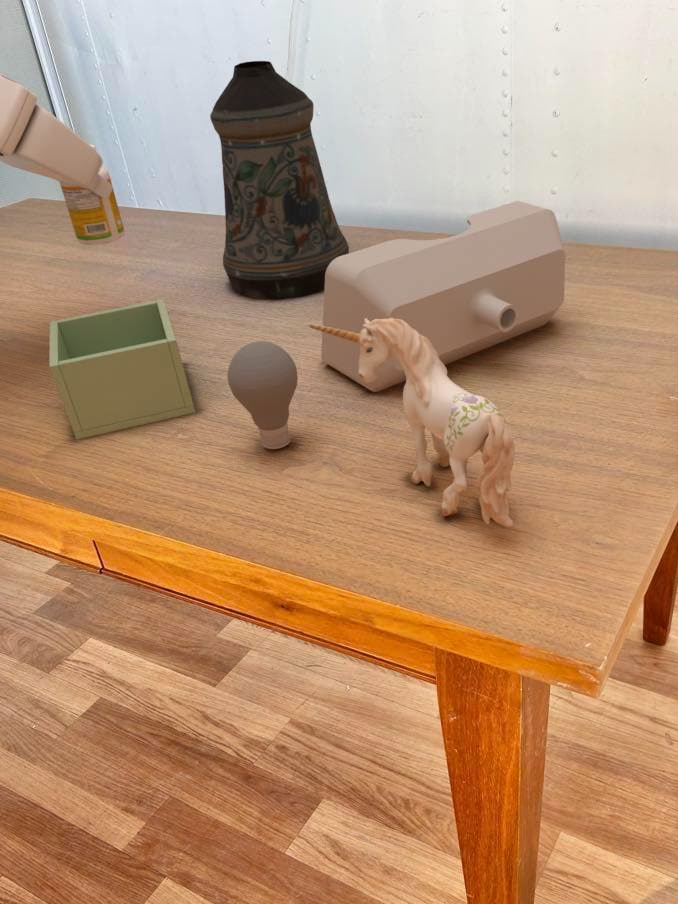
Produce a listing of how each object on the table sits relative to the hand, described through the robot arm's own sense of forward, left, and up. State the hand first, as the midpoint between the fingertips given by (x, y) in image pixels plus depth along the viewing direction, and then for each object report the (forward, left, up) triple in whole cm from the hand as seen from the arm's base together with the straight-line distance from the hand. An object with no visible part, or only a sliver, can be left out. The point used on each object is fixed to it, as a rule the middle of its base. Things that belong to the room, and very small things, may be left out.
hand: (93, 188), depth 95 cm
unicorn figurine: (+19, -51, -16) cm, 57 cm away
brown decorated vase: (+20, +7, -16) cm, 27 cm away
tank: (+32, -27, -16) cm, 45 cm away
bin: (-2, -21, -16) cm, 27 cm away
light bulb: (+10, -37, -16) cm, 42 cm away
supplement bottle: (-1, 0, -6) cm, 6 cm away
